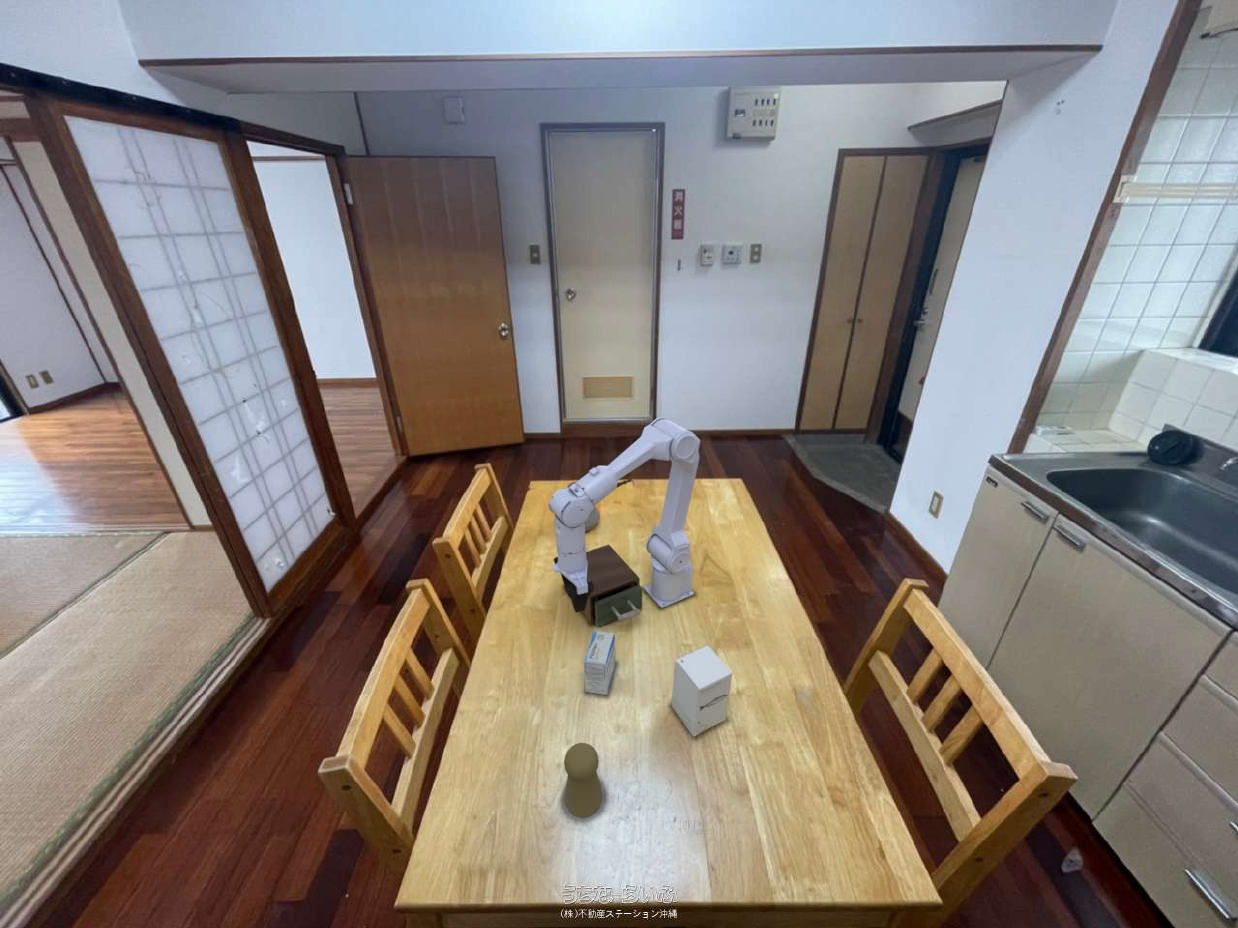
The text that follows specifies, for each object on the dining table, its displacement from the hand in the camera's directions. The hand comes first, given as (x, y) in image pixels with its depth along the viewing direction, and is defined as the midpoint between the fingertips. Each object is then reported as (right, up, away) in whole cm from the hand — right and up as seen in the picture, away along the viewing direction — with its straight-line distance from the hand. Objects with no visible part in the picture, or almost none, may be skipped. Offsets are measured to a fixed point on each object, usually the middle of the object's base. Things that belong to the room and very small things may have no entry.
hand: (574, 597), depth 108 cm
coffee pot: (+3, +10, +42) cm, 43 cm away
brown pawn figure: (+4, -25, -26) cm, 36 cm away
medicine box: (+6, -15, -6) cm, 17 cm away
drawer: (+7, -5, +11) cm, 14 cm away
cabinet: (+5, -3, +15) cm, 16 cm away
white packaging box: (+24, -18, -13) cm, 33 cm away
